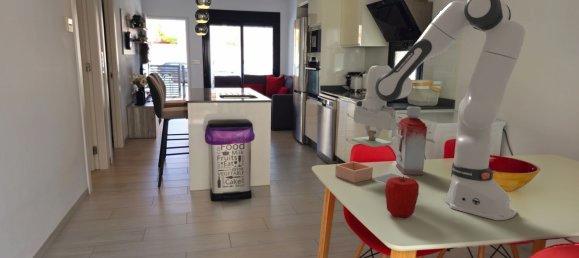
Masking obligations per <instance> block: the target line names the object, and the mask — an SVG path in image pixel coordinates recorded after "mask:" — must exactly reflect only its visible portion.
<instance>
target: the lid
mask: <svg viewBox="0 0 579 258" xmlns="http://www.w3.org/2000/svg"><path fill="white" fill-rule="evenodd" d="M376 132H377V130H371V129H370V132H369V136H362V137H352V138H351V141H352V142H355V143H359V144H361V145H365V146H369V147H373V148H376V147H377V148H378V147H384V146H390V145H393V141H390V140H385V139H382V138H380V137H379V138H374V134H376Z"/></svg>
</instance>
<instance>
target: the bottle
mask: <svg viewBox="0 0 579 258" xmlns="http://www.w3.org/2000/svg"><path fill="white" fill-rule="evenodd" d="M421 110H422V107H420V106H414V105H413V106H411V105H410V106H407V107H406V115H407V117H405V118H401V119H400V121H399V122H398V129H397V130H398V132H397V142H396V143H397V144H396V157H395V158H396V159H395V163H396V165H395V167H397V169H398V170H399V171H400V172H401V173H402V174H403V176H423V175H424V173H423V171H424V167H425V156H426V155H425V154H426V143H427V131H428V126H427V125H426V124H425V122H423V120H421V118H419V117H420V113H421Z"/></svg>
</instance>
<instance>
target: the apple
mask: <svg viewBox="0 0 579 258" xmlns="http://www.w3.org/2000/svg"><path fill="white" fill-rule="evenodd" d="M419 189H420V184H419V183H418V181H417V180H416V179H414V178H413V177H412V178H411V177H407V176H406V177H405V175H402V177H393V178H390V179H389V180H388V181H387V182H386V183H385V188H384V192H385V202H386V210H387V212H389V213H390V214H391V216H393V217H394V218H398V219H408V218H410V217H411V216H412V215H413V214H414V213H415V211H416V207H417V201H418V197H419V192H420V190H419Z"/></svg>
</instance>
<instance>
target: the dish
mask: <svg viewBox="0 0 579 258" xmlns="http://www.w3.org/2000/svg"><path fill="white" fill-rule="evenodd" d="M373 168H374V167H373V166H370V165H367V164H365V163H364V164H363V163H360V162H358V161H350V162H345V163H339V164H336V165H335V174H334V176H335V177H336V178H339V179H342V180H344V181H347V182H350V183H353V184H356V183H360V182H363V181H368V180H371V179H372V178H373Z"/></svg>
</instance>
